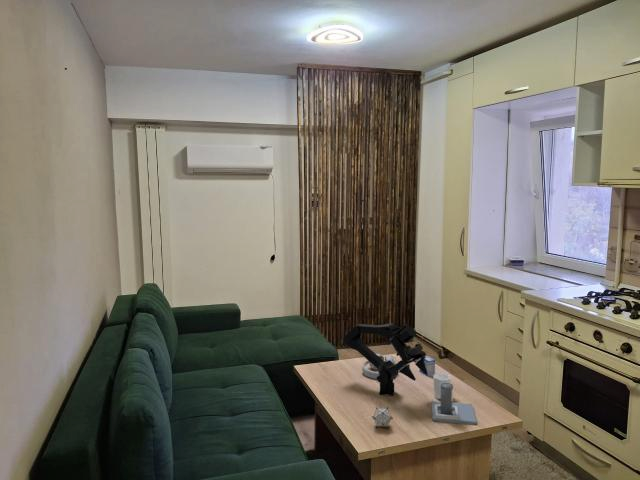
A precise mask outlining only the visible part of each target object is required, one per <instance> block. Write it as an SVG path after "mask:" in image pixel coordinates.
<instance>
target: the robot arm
mask: <svg viewBox="0 0 640 480" xmlns="http://www.w3.org/2000/svg"><path fill="white" fill-rule="evenodd" d="M363 334H367V335H368V334H371V335H377V336H379V337H381V338H384V339H387V342H386V343H387V346H390V345H392V347H393V349H394V350H395V351H396V353H395V355H396V356H397V357H398V356H399V358H400V359H401V360H399V361H398V362H397V363H396V364H393V363H392V362H391V361H390V360H388V361H385V360H384V361H383V360H382V359H381V358H380V357H379V356H378V355H376V354H377V353H375V352H374V351H373V350H372V349H371V348H369V347H368V345H366V344H365V343H364V341H363V339H362V335H363ZM416 336H417V332H416V330H415V328H414V327H412V326H410V325H409V324H407V323H406V324H404V325H403V326H402V327H399V326H397V325H396V324H394V323H385V324H381V325H379V324H378V325H377V324H363V323H359V324H356V325H353V327H352V329H351V330H349V332H348V333H346V334H345V335H344V336H343V345H345V346H346V347H347V348H349V349H351V350H355V351H357V352H358V353H359V355H361V356H362V357H364V359H366V361H369V362H370V363H372V364H373V365H374V366H375V367H376V368H377V369H376V370H377V372H379V374H380V375H379V376H378V377H377V379H376V380H377V382H378V383H379V393H378V394H379V395H380V396H381V395H382V396H393V395H394V394H395V382H394V380H395V379H396V378H397V377H398V375H399V373H400V374H402V375H404V376H405V377H407V378H409V379H410V380H412V381H417V379H416V377H415V375H414V373H413V372H412V370H411V367H410V364H411V363H414V364H415V366H416V367H417V369H420V370H421V371H422V372H423V373H424V374H423V373H422V374H423V375H425V374H426V375H427V374H428V373H427V370H426V366H425V362H424V361H425V358H426V355H427V353H426V352H425V351H424V350H423V349H424V346H423V345H422V344H421V343H416V344H415V345H414V346H413V347H411V345H407V343H409V342H410V341H411V340H413V339H414V338H415V337H416ZM391 337H392V338H391ZM426 375H425V376H426Z"/></svg>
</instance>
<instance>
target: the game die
mask: <svg viewBox="0 0 640 480" xmlns="http://www.w3.org/2000/svg"><path fill="white" fill-rule="evenodd" d="M375 409H376V410H375V411H374V414H373V415H372V416H371V418H372V419H373V420H374V422H375V425H376V427H375V428H376V429H377V428H380V427H382V428H383V427H384V428H386V427H387V429H389V428H390V427H389V425H390V423H391V420H394V419H393V418H394V417H392V415H391V414H390V412H389V410H388V409H389V407H388V406H387V407H386V408H378V407H377V406H375Z"/></svg>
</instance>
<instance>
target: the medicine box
mask: <svg viewBox="0 0 640 480" xmlns="http://www.w3.org/2000/svg"><path fill="white" fill-rule="evenodd" d="M424 362H425V366H426V370H427V373H428V374H427V375H426V374H424V373H423V372H422V371H421V370H420V369H419V368H418V369H419V371H418V372H420V373H422V374H423V375H425V376H427V377H428V378H429V377H430V378H431V377H433V375H434V374H436V360H435V359H434V358H432V357H430V356H428V355H427V354H426V358H425V361H424Z"/></svg>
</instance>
